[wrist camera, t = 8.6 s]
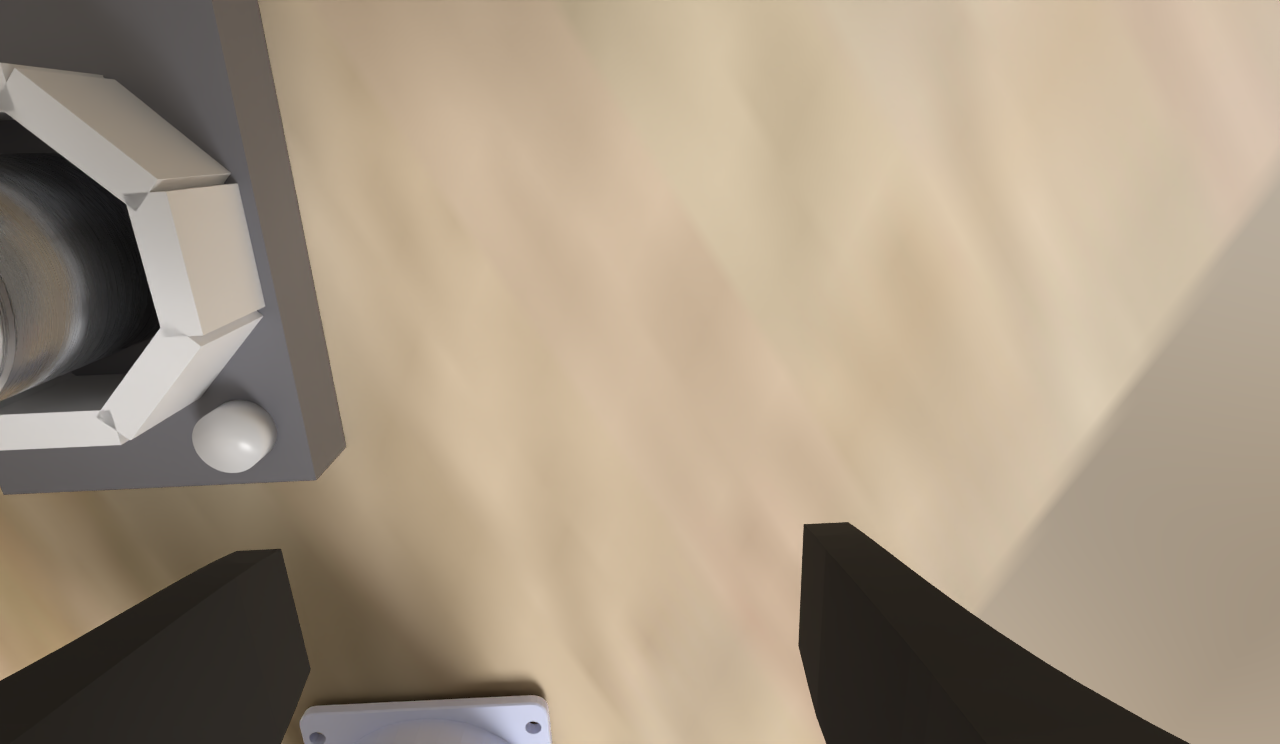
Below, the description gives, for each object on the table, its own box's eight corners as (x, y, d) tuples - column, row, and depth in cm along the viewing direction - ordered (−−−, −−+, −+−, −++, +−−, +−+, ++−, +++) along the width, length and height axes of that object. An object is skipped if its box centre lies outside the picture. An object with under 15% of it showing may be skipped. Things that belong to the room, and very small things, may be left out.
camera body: (346, 446, 19) (268, 533, 15) (64, 459, 19) (-94, 550, 15) (251, -32, 16) (110, -96, 11) (-103, -18, 15) (-380, -77, 11)
